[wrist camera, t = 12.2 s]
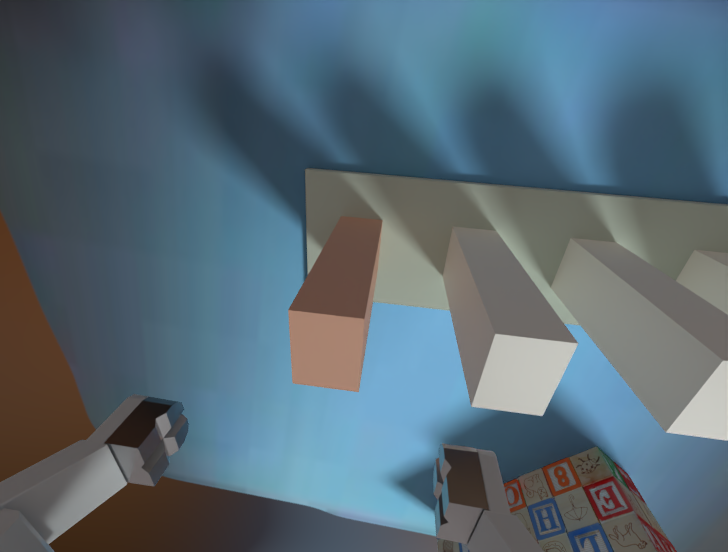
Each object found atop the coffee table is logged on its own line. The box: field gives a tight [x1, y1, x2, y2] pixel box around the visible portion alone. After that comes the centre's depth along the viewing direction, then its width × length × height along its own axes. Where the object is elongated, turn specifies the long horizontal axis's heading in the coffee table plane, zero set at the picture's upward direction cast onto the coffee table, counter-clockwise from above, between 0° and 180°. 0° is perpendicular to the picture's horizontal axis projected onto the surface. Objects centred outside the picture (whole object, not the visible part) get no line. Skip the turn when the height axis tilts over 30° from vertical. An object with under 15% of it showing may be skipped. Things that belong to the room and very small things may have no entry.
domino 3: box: [551, 238, 728, 441], centre depth 18 cm, size 3×4×12 cm
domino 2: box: [442, 227, 578, 416], centre depth 18 cm, size 3×4×12 cm
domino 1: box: [288, 216, 383, 392], centre depth 19 cm, size 3×4×12 cm
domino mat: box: [305, 168, 728, 325], centre depth 23 cm, size 40×10×1 cm, turn 86°
